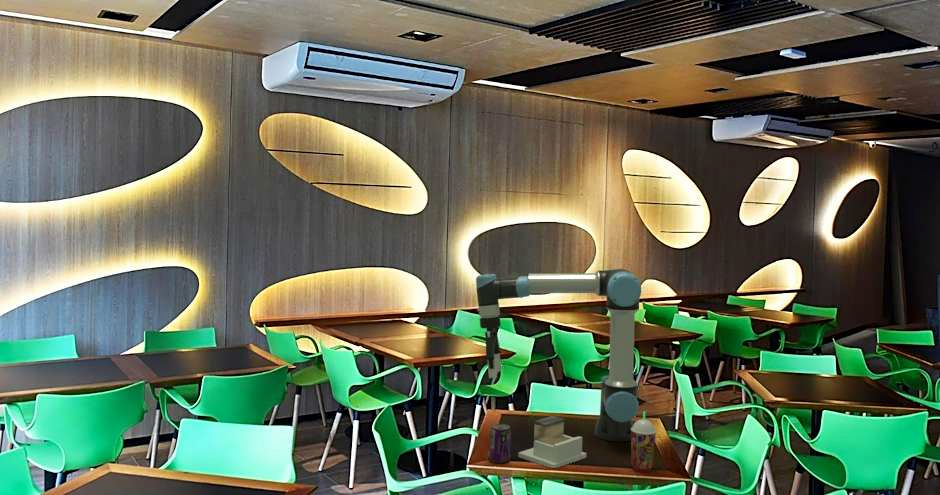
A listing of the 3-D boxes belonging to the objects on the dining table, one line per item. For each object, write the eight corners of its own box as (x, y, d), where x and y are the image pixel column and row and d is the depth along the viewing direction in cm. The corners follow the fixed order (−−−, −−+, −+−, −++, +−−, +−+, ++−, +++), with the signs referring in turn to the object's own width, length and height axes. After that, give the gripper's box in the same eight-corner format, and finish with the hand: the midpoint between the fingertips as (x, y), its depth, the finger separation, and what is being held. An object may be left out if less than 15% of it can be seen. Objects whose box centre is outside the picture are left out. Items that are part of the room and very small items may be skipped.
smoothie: (649, 475, 263) (652, 416, 261) (625, 470, 267) (628, 412, 266) (657, 468, 270) (660, 410, 268) (634, 463, 274) (636, 406, 273)
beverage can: (508, 465, 269) (509, 430, 268) (487, 463, 271) (488, 428, 270) (511, 458, 276) (512, 424, 275) (491, 456, 278) (492, 422, 277)
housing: (518, 456, 278) (519, 435, 277) (551, 445, 290) (551, 425, 290) (553, 469, 266) (554, 447, 266) (586, 457, 279) (587, 436, 278)
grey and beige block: (533, 451, 278) (534, 421, 277) (551, 445, 285) (552, 415, 284) (544, 455, 274) (545, 424, 273) (563, 449, 281) (564, 419, 281)
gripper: (484, 314, 303) (489, 369, 303) (474, 320, 279) (480, 381, 279) (503, 312, 302) (509, 368, 302) (495, 319, 277) (501, 379, 277)
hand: (495, 374), depth 290 cm, fingers open, 13 cm apart
